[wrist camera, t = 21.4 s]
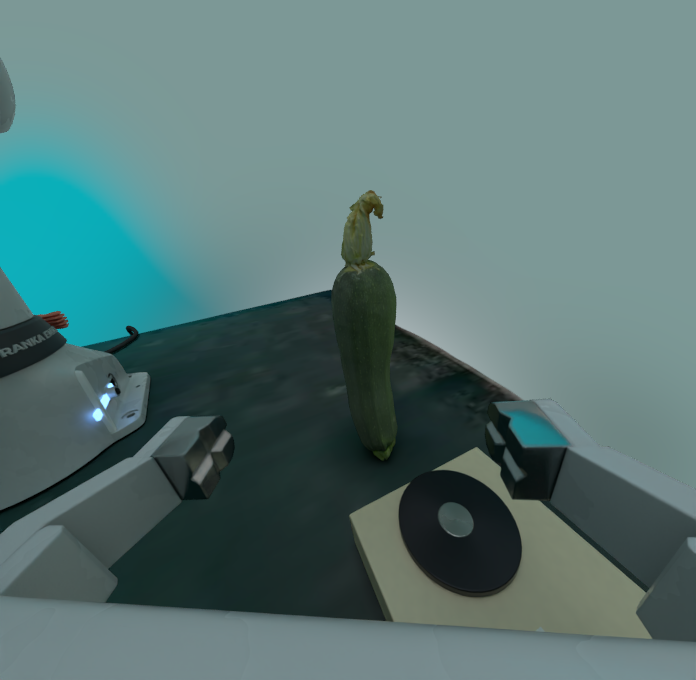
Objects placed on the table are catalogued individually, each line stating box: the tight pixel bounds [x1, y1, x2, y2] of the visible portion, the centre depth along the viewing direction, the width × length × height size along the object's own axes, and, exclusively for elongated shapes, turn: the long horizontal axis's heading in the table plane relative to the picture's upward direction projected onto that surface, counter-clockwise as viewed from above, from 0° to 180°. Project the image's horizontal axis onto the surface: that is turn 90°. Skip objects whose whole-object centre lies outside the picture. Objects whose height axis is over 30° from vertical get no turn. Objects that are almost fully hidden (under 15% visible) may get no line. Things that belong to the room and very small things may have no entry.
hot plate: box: [349, 447, 652, 639], centre depth 11 cm, size 15×10×3 cm, turn 23°
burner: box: [399, 470, 522, 597], centre depth 14 cm, size 6×6×1 cm
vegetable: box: [332, 190, 397, 461], centre depth 19 cm, size 4×4×20 cm
